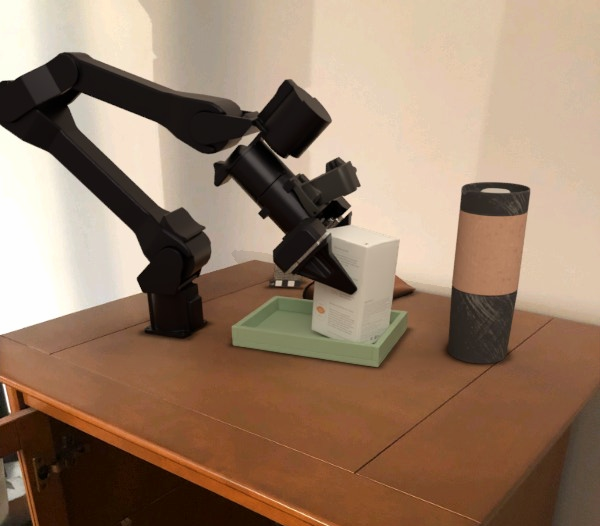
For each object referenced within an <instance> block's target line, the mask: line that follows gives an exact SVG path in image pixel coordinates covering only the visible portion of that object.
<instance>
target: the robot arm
mask: <svg viewBox="0 0 600 526" xmlns="http://www.w3.org/2000/svg"><path fill="white" fill-rule="evenodd" d="M82 94H84V95H86V96H88V97H91V98H93V99H97V100H98V101H101V102H103V103H106V104H109V105H111V106H114V107H115V108H119V109H122V110H124V111H126V112H129V113H132V114H134V115H137V116H139V117H142V118H144V119H146V120H149V121H151V122H154V123H157V124H158V125H159V126H162V127H163V128H164V129H166V130H167V131H168V132H169V133H170V134H171V135H172V136H174V138H176V139H177V140H179V141H181V142H182V143H184V144H186V145H187V146H188V147H190V148H192V149H193V150H195V151H196V152H198V153H201V154H204V155H214V154H217V153H220V152H223V151H225V150H229V149H231V148H233V147H235V148H234V150H232V152H231V153H230V154H229V156H228V157H227V158H226V159H225V160H218V161H216V162H213V164H212V166H213V171H214V173H213V174H214V176H213V185H214V187H216V188H218V187H220V186H223V185H225V184H228V183H229V182H230V181H231V180H233V181H234V182H235V184H236V185H238V187H240V189H241V190H242V191H243V192H244V193H245V194H246V195H247V196H248V197H249V198H250V199H251V201H253V203H255V204H256V205H257V207H258V208H259V209H260V210H259V211H258V213H257V214H258V215H259V216H260V218H261V219H262V220H266V219H267V218H269V219H270V220H271V221H272V222H273V223H274V225H276V227H277V228H278V229H279V230H280V231H281V232H282V233H283V234H284V236H283V237H282V238H281V241H280V242H279V244H277V245H276V247H275V248H274V249H273V250H272V262H273V264H274V265H275V264H276V265H277V266H278V267H279V268H280V269H281V270H282V272H283V273H284V274H285V273H286V272H287V271H288V270H289V269H290V268H291V267H292V266H293V265H294V264H295V263H297V264H298V265H297V266H296V267H295V268H294V269H293V270H292V271H291V272H290V273H291V274H293V275H295V274H297V275H300V276H302V277H303V278H305V279H308V280H312V281H317V282H319V283H322V284H325V285H327V286H329V287H332V288H334V289H337V290H339V291H342V292H344V293H347V294H349V295H352V294H354V293H355V292H356V291H357V286H356V285H355V283H354V282H353V280H352V279H351V277H350V276H349V275H348V273H347V272H346V270H345V269H344V268H343V266H342V265H341V263H340V262H339V261H338V259H337V258H336V256H335V255H334V254H333V252H332V235H331V233H330V234H329V235H328V236H327V237H326V238H325V239H324V238H323V237H322V236H323V235H324V234H325V233H326V232H327V231H326V230H327V229H332V228H337V227H343V226H348V225H352V216H353V210H350V211H349V209H350V208H351V207H352V204H350V203H349V201H347V199H346V196H349V195H351V194H353V193H355V192H356V191H357V190H358V188H361V187H362V186H361V182H360V180H359V177H358V174H357V171H358V168H357V167H356V166H354V165H353V163H352V161H351V160H349V161H347V162H346V161H344V159H343V158H342V157H340V156H337V157H336V158H333V159H331V160H329V161H327V162H326V163H325V172H324V173H321V174H319V175H318V176H316V177H314V178H312V179H309V178H308V176H306V175H305V174H304V173H301V172H299V173H298V174H295V172H293V171H292V170H291V169H290V168H289V167H288V166H287V165H286V164H285V163H284V161H283V160H282V159H285V160H287V159H288V158H289V157H291V158H294V159H300V158H301V157H302V156H303V154H305V152H306V151H307V150H308V149H309V148H310V147H311V146H312V145H313V144H314V142H316V140H317V139H319V137H320V136H321V135H322V134H323V132H324V131H325V130H327V128H328V127H329V126H330V125H331V124H332V122H333V119H332V117H331V114H330V113H329V112H328V110H327V109H326V108H325V106H324V105H323V104H322V102H320V101H319V99H318V98H316V97H315V96H314V97H313V96H312V95H311V94H310V93H309V92H308V91H306V90H305V89H304V88H303V87H301V86H299V85H298V84H297V83H296V82H295V81H294V80H293V79H292V78H288V79H284V80H283V82H282V83H280V85H279V86H278V88H277V89H276V92H275V93H274V94H273V96H272V98H270V100H269V101H268V102H267V103H266V104H265V106H264V107H263V108H262V109H261V110H260V112H259V111H258V110H256V111H251V110H244V109H241V107H240V105H238V103H236V102H235V101H233V100H231V99H229V98H226V97H220V96H214V95H209V94H203V93H202V94H201V93H195V92H187V91H181V90H175V89H172V88H170V87H167V86H165V85H162V84H160V83H157V82H154V81H152V80H149V79H147V78H144V77H142V76H139V75H136V74H135V73H132V72H130V71H127V70H124V69H121V68H120V67H119V68H118V67H116V66H114V65H111V64H108V63H106V62H103V61H101V60H98V59H96V58H93V57H92V56H91V55H90V54H88V53H86V52H80V51H62V52H60V53H58V54H56V56H54V57H53V58H52V59H50V60H48V61H47V62H45V63H44V64H42V65H39V66H38V67H36V68H33V69H32V70H30V71H28V72H25V73H23V74H21V75H19V76H18V77H16V78H15V79H8V80H7V79H6V80H1V81H0V126H1V127H2V128H3V129H5V130H6V131H7V132H9V133H11V135H13V136H15V137H16V138H18V139H19V140H20V141H22V142H23V143H25V144H29V145H31V146H34V147H36V148H37V149H40V150H43V151H44V152H46V153H49V155H51V156H52V157H53V158H54V159H55V160H56V161H58V163H59V164H61V165H62V166H63V167H64V168H65V169H66V170H67V171H68V172H69V173H70V174H71V175H72V176H73V177H74V178H75V179H77V181H79V183H81V184H82V185H83V186H84V187H85V188H86V189H87V190H88V191H89V192H90V193H91V194H93V195H94V196H95V197H96V198H97V200H99V201H100V202H101V203H102V204H103V205H104V206H105V207H106V208H107V209H109V210H110V211H111V213H113V214H114V216H116V217H117V218H118V219H119V220H120V221H121V222H122V223H123V224H124V225H125V226H127V227H128V228H129V230H131V231H132V233H133V234H134V236H135V238H136V240H137V242H138V245H139V247H140V249H141V253H142V255H143V256H144V257H145V258H146V260H147V261H148V262H149V263H148V264H147V265H146V266H145V267H144V269H143V270H142V271H141V272H140V273H139V274H138V275H137V277H136V281H137V283H138V286H139V288H140V290H141V292H142V293H143V294H146V298H147V306H148V313H149V314H148V316H149V323H150V324H149V325H147V326H145V327H144V328H143V331H144V333H146V334H154V335H160V336H167V337H173V338H181V339H183V338H184V339H185V338H187V337H188V336H190V335H192V334H193V333H194V332H196V331H197V330H199V329H201V328H203V327H204V326H205V325H207V324H208V320H207V319H206V318H204V310H203V309H204V307H203V297H202V295H201V294H200V293H199V284H198V282H197V283H195V282H194V281H195V280H196V279H198V278H199V277H200V276H201V273H202V270H203V268H204V267H205V266H207V264H208V263H209V261H210V259H211V257H212V251H213V250H212V241H211V239H210V237H209V236H208V234H206V232H205V231H204V230H206V226H204V225H203V224H200V223H199V222H198V221H196V219H194V218H193V217H192V216H191V214H190V212H189V211H188V210H187V209H185V207H183V206H180V207H178V208H177V209H174V210H171V211H170V210H167V209H165V208H163V207H161V206H160V205H158V203H156V201H154V199H152V198H151V197H150V196H149V195H148V194H147V193H146V192H145V191H144V190H143V189H142V188H141V187H140V186H139V185H138V184H137V183H135V182H134V181H133V180H132V179H131V177H129V176H128V175H127V174H126V173H125V172H124V171H123V170H122V169H121V168H120V167H119V166H118V165H117V164H116V163H114V161H113V160H112V159H110V158H109V157H108V155H107V154H105V153H104V151H102V150H101V149H100V148H99V147H98V146H97V145H96V144H95V143H94V142H93V141H92V140H91V139H90V138H88V137H87V135H85V134H84V133H83V132H82V131H81V130H80V129H79V127H78V126H77V123H76V121H75V118H74V116H73V113H72V111H71V109H70V107H69V105H71V104H72V103H74V102H75V101H76V100H77V99H78V97H79V96H80V95H82ZM254 134H256V136H255V137H254V138H253V139H252V140H251V141H250V143H249V144H248V145H245V144H239V143H240V142H241V140H243V138H244V137H247V136H251V135H254ZM281 158H282V159H281ZM347 211H349V212H348V213H347ZM346 213H347V214H346ZM344 214H346V215H345V216H344V217H343V215H344Z"/></svg>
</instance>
